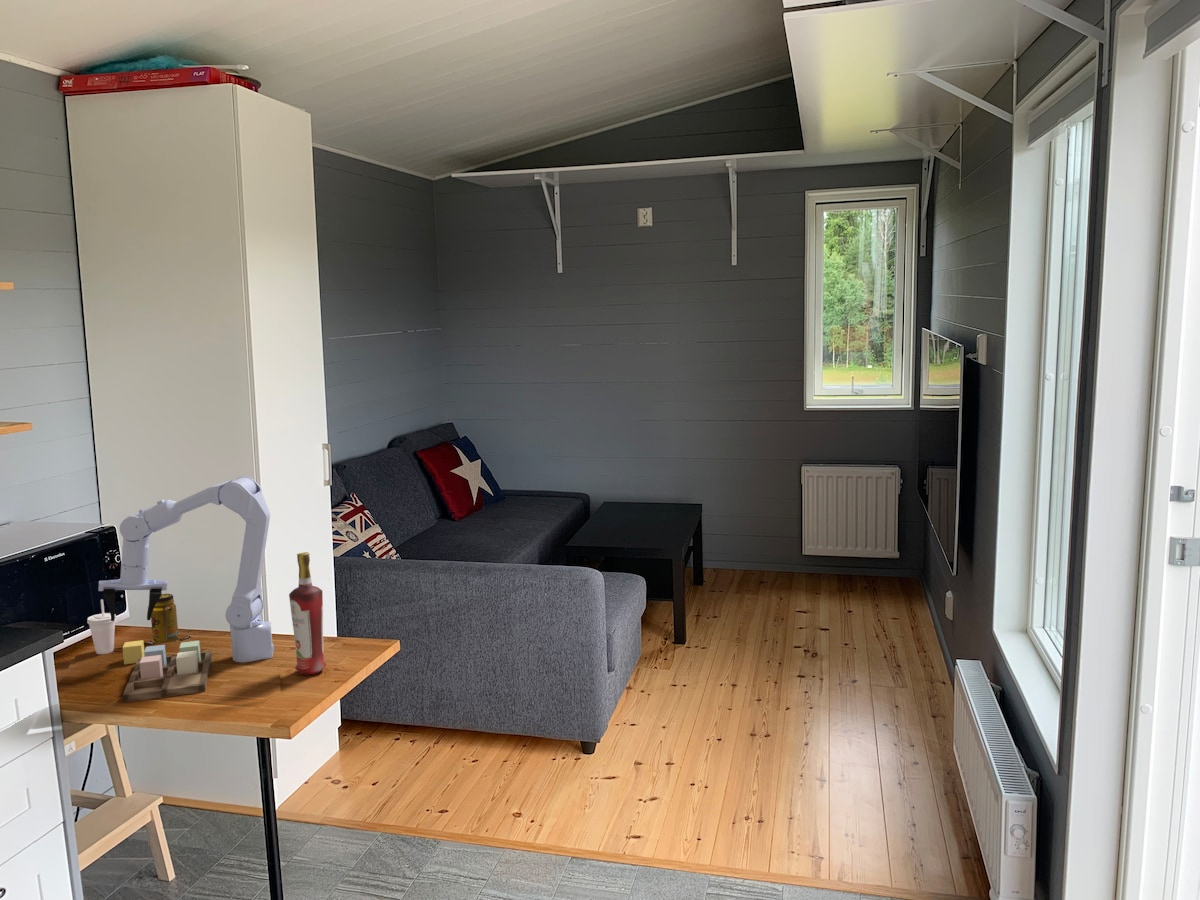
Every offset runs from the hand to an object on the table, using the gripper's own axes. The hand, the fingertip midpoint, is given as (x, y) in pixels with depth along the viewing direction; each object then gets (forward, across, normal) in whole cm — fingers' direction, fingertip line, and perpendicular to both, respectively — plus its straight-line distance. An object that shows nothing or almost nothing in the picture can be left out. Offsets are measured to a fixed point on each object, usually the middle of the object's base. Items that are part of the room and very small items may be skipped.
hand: (130, 619), depth 226 cm
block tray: (+9, -9, +17) cm, 21 cm away
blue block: (+9, -6, +9) cm, 14 cm away
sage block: (+8, -13, +10) cm, 18 cm away
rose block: (+9, -5, +16) cm, 19 cm away
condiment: (+11, -10, -15) cm, 21 cm away
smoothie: (+13, +5, -11) cm, 18 cm away
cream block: (+8, -12, +17) cm, 23 cm away
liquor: (+4, -38, +27) cm, 47 cm away
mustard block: (+11, -2, 0) cm, 11 cm away
